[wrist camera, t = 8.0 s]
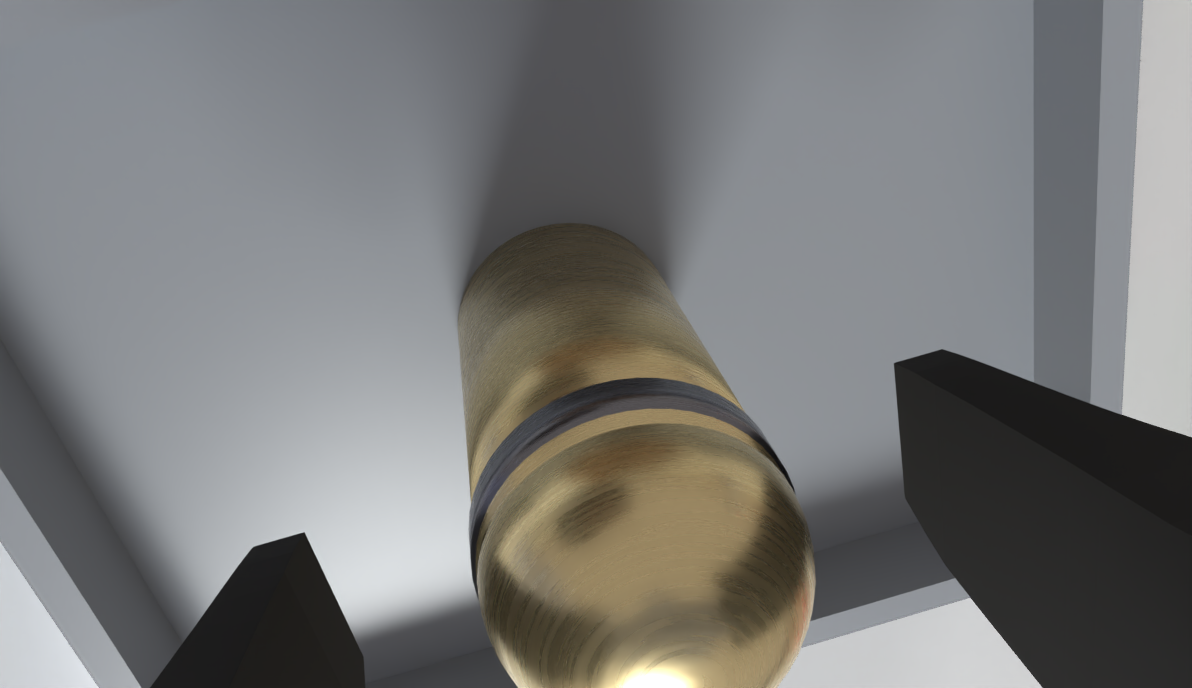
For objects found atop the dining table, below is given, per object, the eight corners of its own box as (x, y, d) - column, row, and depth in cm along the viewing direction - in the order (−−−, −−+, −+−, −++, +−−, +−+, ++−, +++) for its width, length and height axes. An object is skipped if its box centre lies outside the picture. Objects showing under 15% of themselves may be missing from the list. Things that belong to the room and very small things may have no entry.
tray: (219, 720, 19) (194, 828, 17) (-192, 36, 13) (-319, 69, 11) (1038, 480, 20) (1114, 554, 18) (1040, -277, 14) (1158, -307, 12)
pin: (488, 444, 17) (539, 877, 9) (425, 254, 15) (428, 600, 8) (689, 387, 17) (893, 768, 9) (649, 193, 15) (860, 475, 8)
